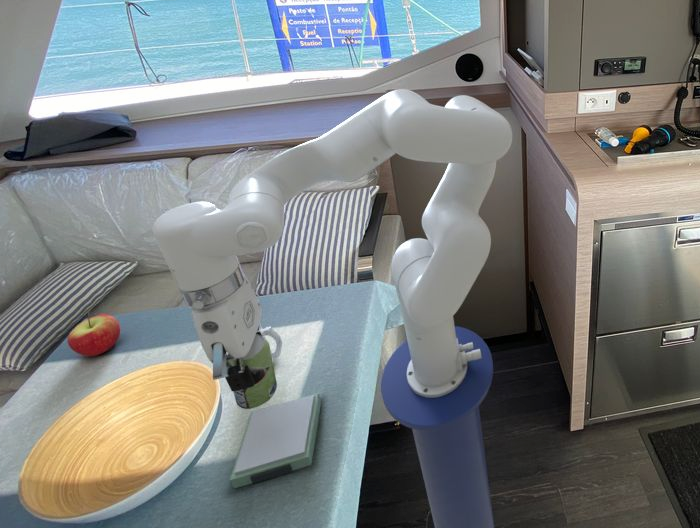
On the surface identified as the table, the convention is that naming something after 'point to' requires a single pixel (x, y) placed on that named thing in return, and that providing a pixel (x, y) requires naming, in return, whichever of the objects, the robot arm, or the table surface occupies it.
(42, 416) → the table surface
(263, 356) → the beverage can
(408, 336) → the robot arm
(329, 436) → the table surface
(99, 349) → the apple
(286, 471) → the scale
